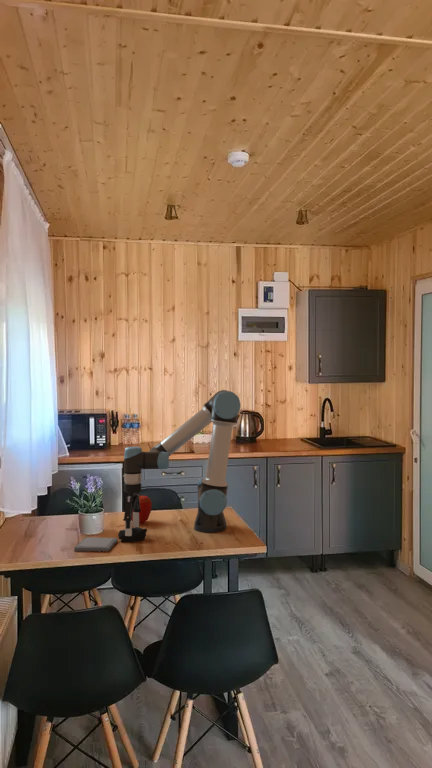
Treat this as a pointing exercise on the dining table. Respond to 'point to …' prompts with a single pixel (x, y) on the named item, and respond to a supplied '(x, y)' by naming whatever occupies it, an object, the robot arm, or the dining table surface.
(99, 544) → the plate
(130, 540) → the mineral
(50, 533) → the dining table surface
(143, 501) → the apple
